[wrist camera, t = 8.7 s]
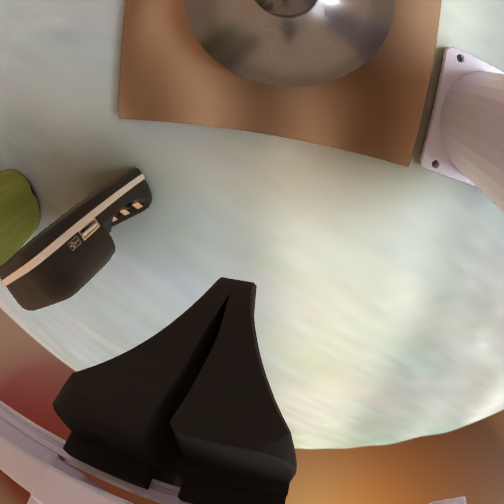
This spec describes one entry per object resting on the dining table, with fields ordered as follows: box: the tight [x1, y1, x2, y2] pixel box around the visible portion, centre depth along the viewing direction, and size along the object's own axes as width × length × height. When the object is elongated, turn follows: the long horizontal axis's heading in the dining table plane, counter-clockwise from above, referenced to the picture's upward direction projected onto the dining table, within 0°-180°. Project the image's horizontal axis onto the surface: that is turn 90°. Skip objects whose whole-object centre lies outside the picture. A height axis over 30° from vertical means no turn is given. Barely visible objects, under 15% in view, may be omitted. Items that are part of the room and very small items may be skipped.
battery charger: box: [0, 168, 152, 311], centre depth 19 cm, size 7×4×11 cm, turn 116°
